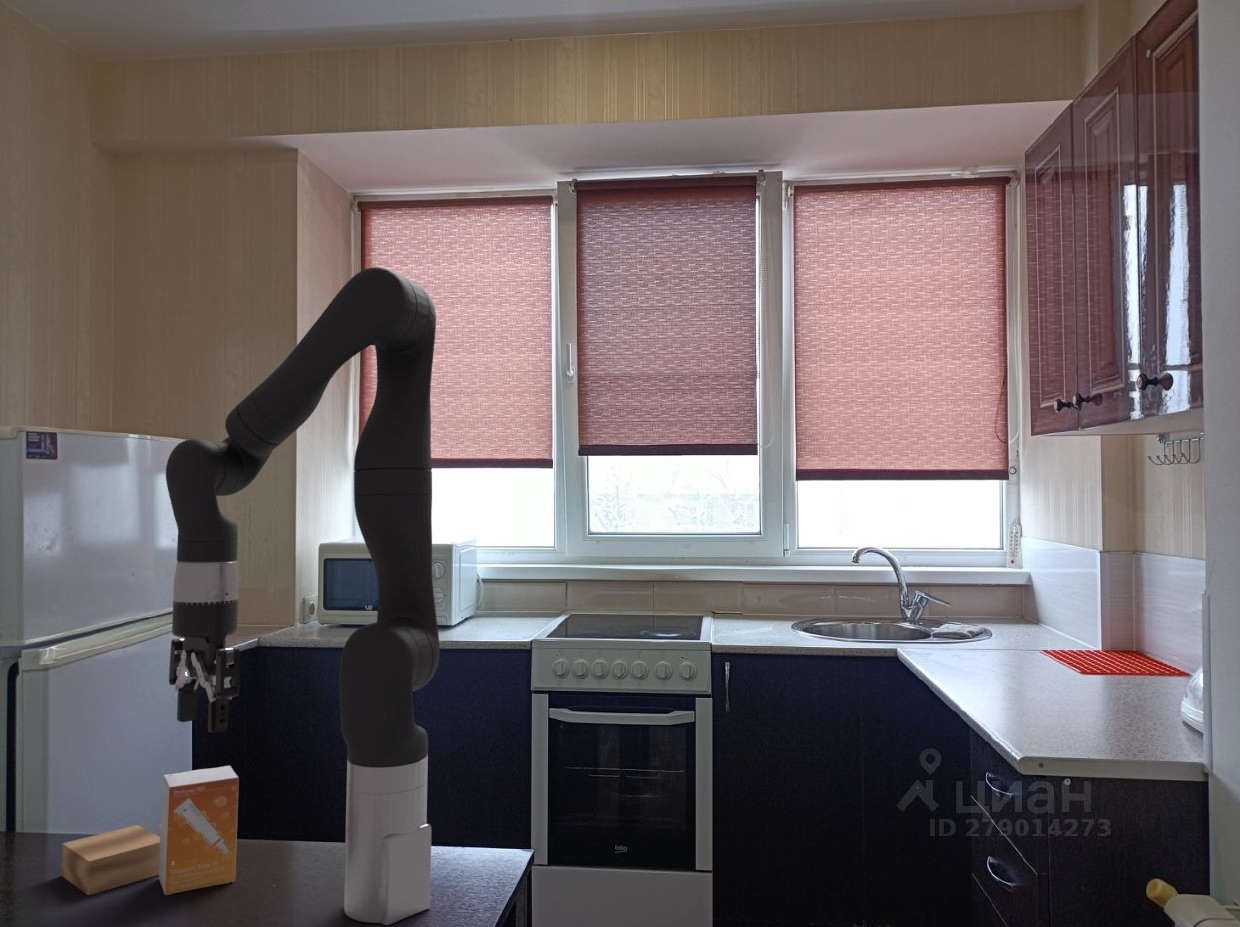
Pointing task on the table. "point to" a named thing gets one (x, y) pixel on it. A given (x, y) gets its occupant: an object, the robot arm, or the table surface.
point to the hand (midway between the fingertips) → (201, 726)
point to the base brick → (111, 859)
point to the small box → (198, 829)
